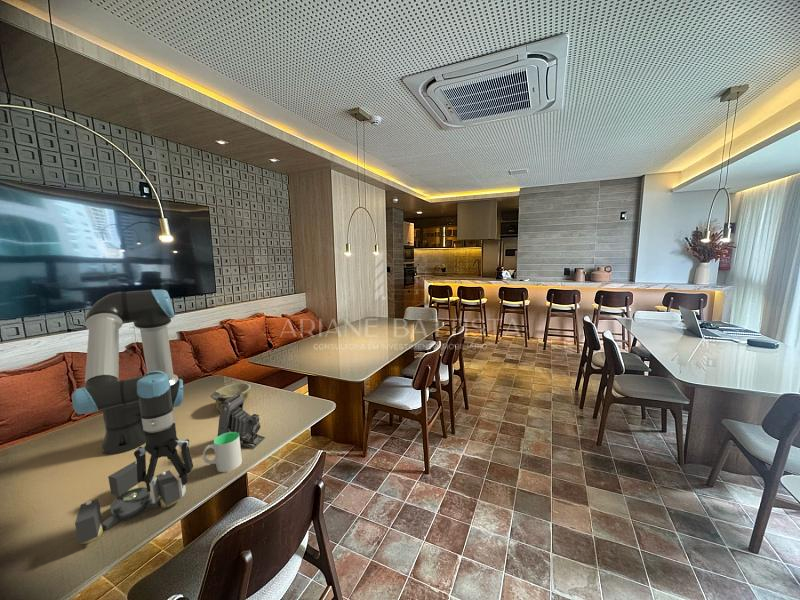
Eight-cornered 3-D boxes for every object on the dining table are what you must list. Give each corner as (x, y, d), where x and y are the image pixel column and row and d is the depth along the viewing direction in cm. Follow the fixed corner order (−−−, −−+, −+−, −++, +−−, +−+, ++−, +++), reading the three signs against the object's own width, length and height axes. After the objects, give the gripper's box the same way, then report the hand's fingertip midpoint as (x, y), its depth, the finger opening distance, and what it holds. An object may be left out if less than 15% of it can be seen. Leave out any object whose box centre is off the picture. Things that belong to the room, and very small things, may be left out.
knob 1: (77, 552, 81) (72, 522, 80) (83, 531, 87) (78, 503, 86) (101, 542, 83) (95, 513, 82) (104, 523, 90) (100, 495, 89)
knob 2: (165, 512, 93) (161, 486, 92) (157, 500, 98) (153, 475, 97) (182, 503, 96) (179, 477, 95) (174, 492, 101) (170, 467, 100)
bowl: (241, 396, 172) (239, 380, 171) (258, 404, 162) (257, 387, 161) (206, 409, 158) (204, 391, 157) (223, 419, 148) (221, 400, 147)
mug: (202, 478, 107) (198, 449, 106) (206, 464, 115) (203, 437, 113) (241, 468, 112) (238, 441, 111) (242, 455, 119) (240, 429, 118)
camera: (250, 459, 123) (257, 413, 119) (213, 445, 125) (219, 400, 122) (267, 443, 133) (274, 400, 130) (232, 430, 136) (239, 388, 133)
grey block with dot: (111, 499, 99) (106, 474, 98) (138, 482, 106) (134, 458, 105) (120, 502, 98) (116, 476, 96) (147, 484, 105) (144, 460, 104)
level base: (87, 523, 90) (84, 508, 89) (132, 493, 101) (130, 479, 101) (121, 534, 86) (118, 518, 85) (164, 501, 97) (162, 487, 97)
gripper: (112, 439, 87) (125, 513, 90) (191, 427, 92) (201, 498, 95) (127, 425, 95) (138, 495, 98) (200, 415, 100) (208, 481, 103)
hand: (169, 496), depth 96 cm, fingers open, 6 cm apart
